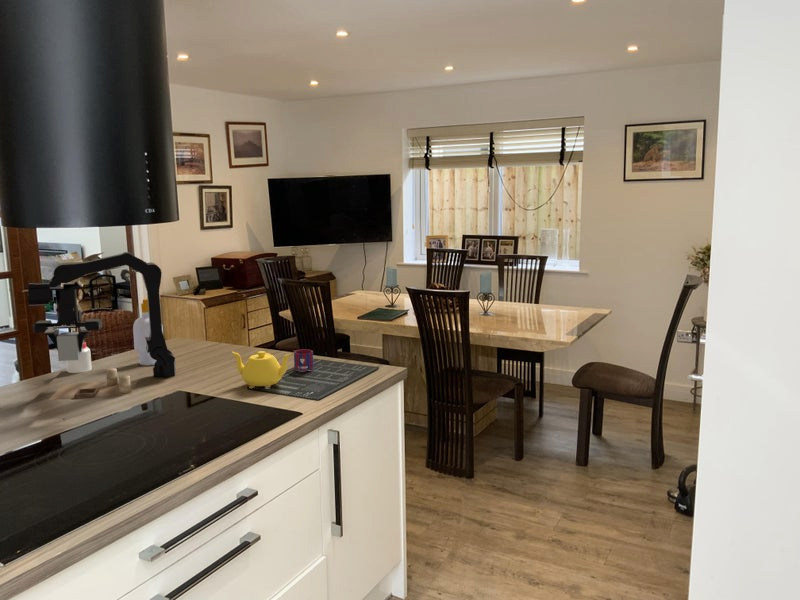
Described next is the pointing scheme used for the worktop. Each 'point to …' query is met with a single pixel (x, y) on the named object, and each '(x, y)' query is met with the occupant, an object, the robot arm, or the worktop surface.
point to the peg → (111, 377)
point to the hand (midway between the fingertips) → (70, 352)
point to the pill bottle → (80, 362)
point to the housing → (68, 346)
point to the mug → (303, 360)
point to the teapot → (261, 369)
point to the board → (89, 390)
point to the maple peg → (124, 384)
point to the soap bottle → (143, 335)
